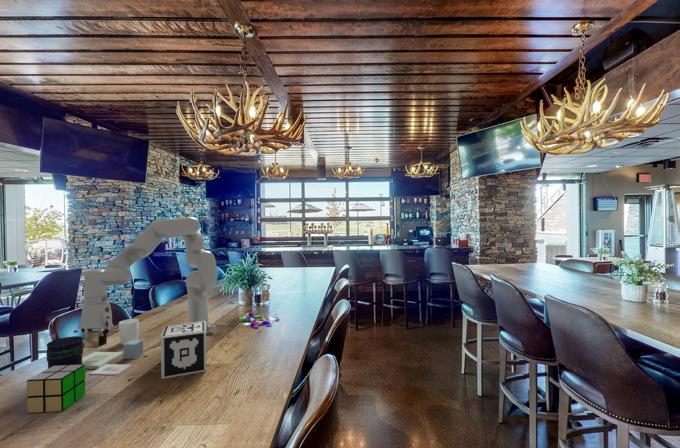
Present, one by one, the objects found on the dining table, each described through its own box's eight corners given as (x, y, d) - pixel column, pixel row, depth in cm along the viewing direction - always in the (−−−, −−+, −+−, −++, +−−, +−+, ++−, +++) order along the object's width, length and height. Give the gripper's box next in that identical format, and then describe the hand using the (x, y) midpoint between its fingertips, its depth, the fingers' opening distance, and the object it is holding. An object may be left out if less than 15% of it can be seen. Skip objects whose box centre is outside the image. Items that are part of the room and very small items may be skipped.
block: (165, 362, 130) (165, 325, 130) (205, 356, 136) (205, 320, 136) (161, 379, 116) (160, 337, 116) (206, 371, 122) (206, 331, 122)
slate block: (143, 354, 139) (142, 340, 139) (135, 358, 134) (134, 344, 134) (131, 353, 139) (131, 339, 139) (123, 358, 134) (123, 344, 134)
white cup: (129, 346, 148) (129, 324, 148) (114, 344, 149) (114, 323, 149) (143, 339, 155) (142, 319, 155) (129, 338, 157) (128, 318, 157)
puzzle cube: (53, 396, 105) (53, 365, 105) (86, 394, 106) (85, 363, 106) (26, 414, 95) (25, 380, 95) (62, 412, 96) (62, 378, 96)
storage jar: (42, 393, 106) (41, 339, 106) (51, 380, 115) (51, 330, 115) (80, 386, 111) (79, 334, 111) (86, 374, 120) (86, 326, 120)
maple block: (106, 343, 133) (106, 329, 133) (96, 348, 128) (96, 333, 128) (95, 343, 134) (95, 329, 134) (84, 348, 129) (84, 333, 129)
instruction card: (132, 365, 127) (132, 364, 127) (117, 375, 119) (117, 373, 119) (106, 364, 128) (106, 363, 128) (89, 374, 120) (89, 373, 120)
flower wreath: (284, 325, 177) (284, 317, 177) (245, 331, 168) (245, 322, 168) (272, 314, 200) (272, 307, 200) (237, 318, 190) (237, 311, 190)
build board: (123, 355, 137) (123, 352, 137) (99, 368, 124) (99, 365, 124) (94, 354, 138) (94, 351, 138) (67, 368, 125) (67, 364, 125)
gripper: (122, 298, 134) (122, 341, 134) (84, 297, 135) (84, 341, 135) (108, 302, 127) (108, 348, 127) (68, 301, 128) (67, 347, 128)
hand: (96, 344), depth 131 cm, fingers closed on maple block, 5 cm apart
